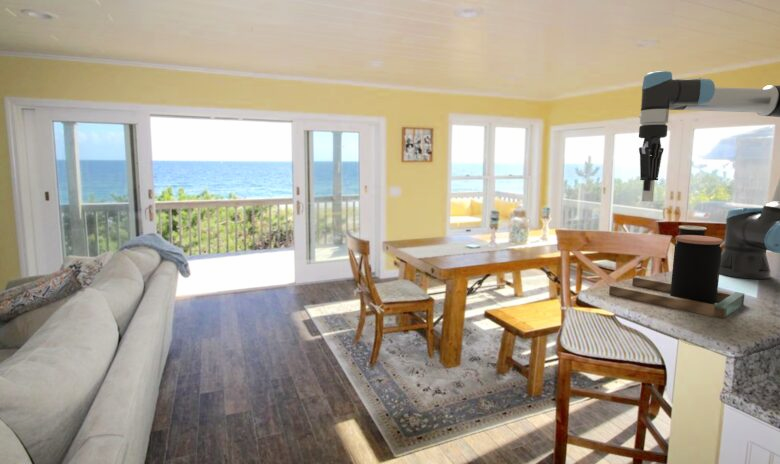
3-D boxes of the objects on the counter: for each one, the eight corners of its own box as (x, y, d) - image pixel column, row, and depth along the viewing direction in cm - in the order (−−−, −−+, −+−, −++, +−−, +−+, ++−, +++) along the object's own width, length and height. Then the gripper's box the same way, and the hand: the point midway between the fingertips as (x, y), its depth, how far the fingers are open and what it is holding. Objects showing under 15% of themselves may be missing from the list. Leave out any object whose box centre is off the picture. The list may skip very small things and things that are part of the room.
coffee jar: (725, 308, 119) (732, 241, 116) (682, 307, 120) (689, 240, 117) (701, 296, 129) (707, 235, 127) (662, 296, 130) (667, 234, 128)
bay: (609, 294, 132) (609, 284, 132) (634, 283, 144) (635, 274, 143) (723, 318, 111) (724, 306, 110) (743, 304, 122) (744, 293, 122)
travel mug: (680, 277, 151) (685, 224, 149) (706, 283, 145) (712, 227, 142) (667, 280, 147) (672, 226, 145) (694, 286, 141) (700, 229, 138)
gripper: (648, 126, 145) (643, 199, 149) (631, 124, 137) (626, 201, 141) (674, 125, 140) (668, 200, 143) (658, 122, 131) (651, 203, 135)
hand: (647, 201), depth 142 cm, fingers closed
